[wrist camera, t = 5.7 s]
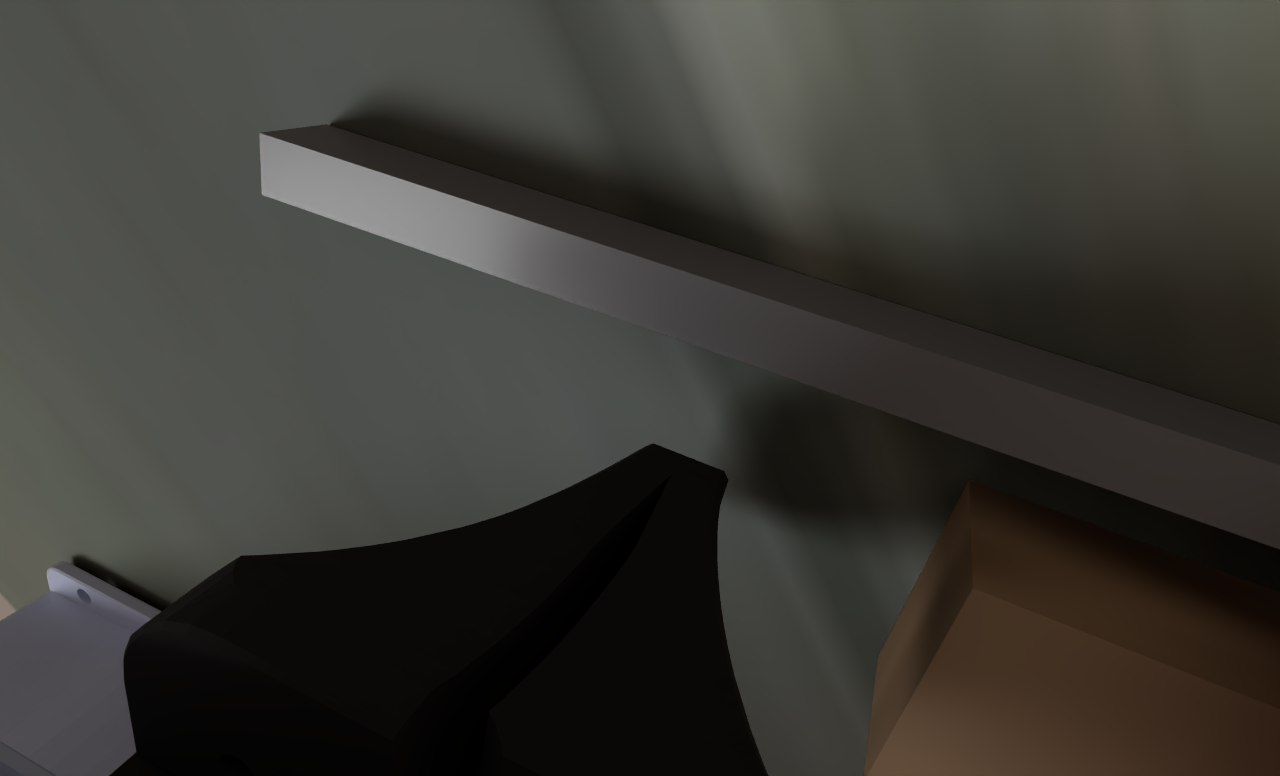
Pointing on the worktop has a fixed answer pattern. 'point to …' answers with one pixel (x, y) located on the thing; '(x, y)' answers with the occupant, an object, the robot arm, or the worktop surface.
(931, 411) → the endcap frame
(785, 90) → the worktop surface
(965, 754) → the brown rectangular block
